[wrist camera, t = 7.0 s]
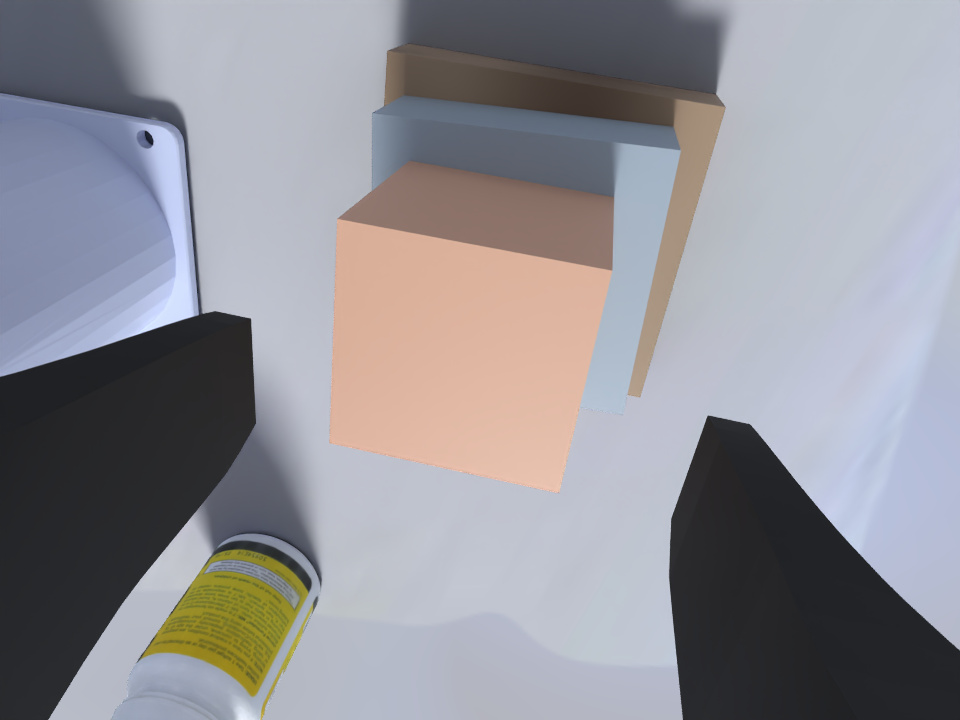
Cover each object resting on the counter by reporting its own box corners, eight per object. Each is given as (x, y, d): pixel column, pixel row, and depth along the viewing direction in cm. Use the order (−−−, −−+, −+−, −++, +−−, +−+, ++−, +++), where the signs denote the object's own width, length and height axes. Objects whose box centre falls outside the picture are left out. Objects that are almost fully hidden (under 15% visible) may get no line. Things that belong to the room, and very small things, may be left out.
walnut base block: (393, 307, 23) (370, 342, 21) (414, 41, 19) (387, 50, 17) (638, 355, 22) (640, 397, 20) (713, 90, 18) (725, 107, 16)
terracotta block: (394, 341, 17) (329, 443, 14) (409, 160, 15) (337, 219, 11) (572, 378, 17) (558, 493, 13) (614, 197, 15) (612, 270, 11)
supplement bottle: (203, 524, 29) (61, 712, 21) (312, 534, 28) (202, 733, 20) (230, 608, 31) (109, 803, 24) (331, 619, 30) (238, 825, 23)
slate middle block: (398, 330, 20) (371, 373, 18) (404, 94, 17) (372, 113, 15) (623, 366, 20) (623, 415, 17) (673, 126, 16) (680, 150, 14)
